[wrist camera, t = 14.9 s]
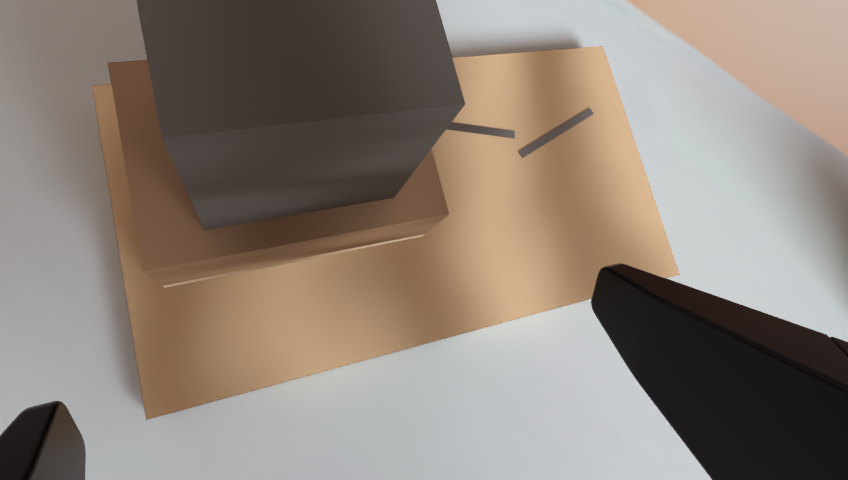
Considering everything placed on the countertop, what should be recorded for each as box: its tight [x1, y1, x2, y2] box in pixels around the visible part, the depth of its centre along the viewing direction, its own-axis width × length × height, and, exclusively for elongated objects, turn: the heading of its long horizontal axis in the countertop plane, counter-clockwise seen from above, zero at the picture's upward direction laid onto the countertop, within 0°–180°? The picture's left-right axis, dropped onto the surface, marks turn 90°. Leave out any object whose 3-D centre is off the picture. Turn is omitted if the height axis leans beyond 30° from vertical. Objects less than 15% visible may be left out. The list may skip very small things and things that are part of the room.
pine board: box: [93, 46, 680, 420], centre depth 18 cm, size 19×10×1 cm, turn 105°
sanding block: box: [108, 0, 465, 288], centre depth 13 cm, size 8×6×8 cm
